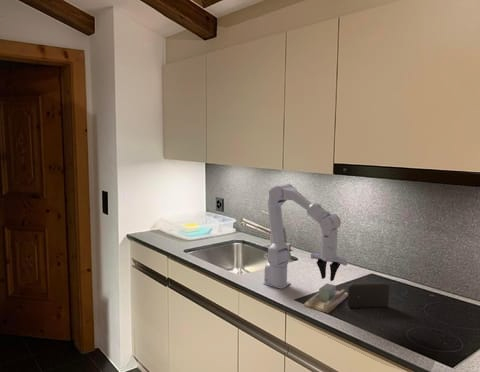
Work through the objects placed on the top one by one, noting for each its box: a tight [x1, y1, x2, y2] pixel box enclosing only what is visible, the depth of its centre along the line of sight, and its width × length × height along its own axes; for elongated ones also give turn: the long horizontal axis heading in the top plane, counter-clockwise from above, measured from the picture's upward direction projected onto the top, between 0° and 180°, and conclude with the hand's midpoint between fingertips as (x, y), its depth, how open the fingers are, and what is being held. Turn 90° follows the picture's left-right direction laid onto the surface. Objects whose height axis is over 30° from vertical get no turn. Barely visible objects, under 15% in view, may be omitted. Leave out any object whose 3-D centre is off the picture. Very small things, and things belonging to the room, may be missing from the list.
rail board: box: [303, 288, 348, 314], centre depth 159 cm, size 10×20×2 cm, turn 144°
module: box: [318, 283, 337, 302], centre depth 159 cm, size 4×7×4 cm, turn 144°
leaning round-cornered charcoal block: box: [347, 280, 391, 309], centre depth 154 cm, size 16×5×9 cm, turn 96°
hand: (327, 279), depth 158 cm, fingers open, 3 cm apart
